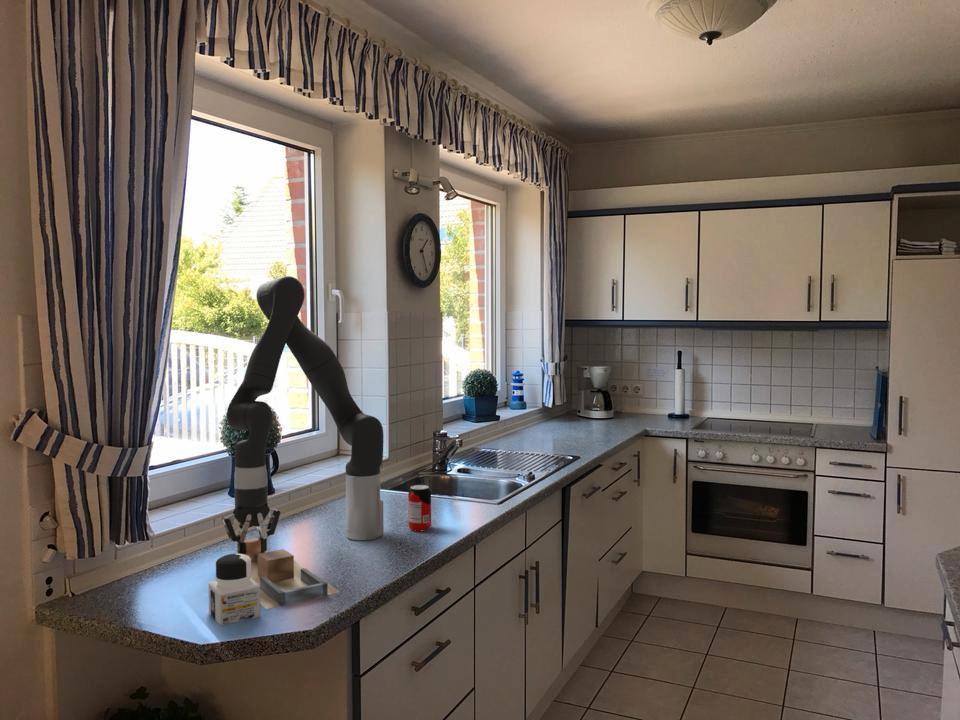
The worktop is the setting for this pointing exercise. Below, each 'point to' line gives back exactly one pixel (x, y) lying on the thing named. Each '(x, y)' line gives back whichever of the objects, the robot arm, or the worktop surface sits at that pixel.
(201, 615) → the worktop surface
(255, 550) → the wooden joystick
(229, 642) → the worktop surface
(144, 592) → the worktop surface
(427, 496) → the beverage can
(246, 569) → the container
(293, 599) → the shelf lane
